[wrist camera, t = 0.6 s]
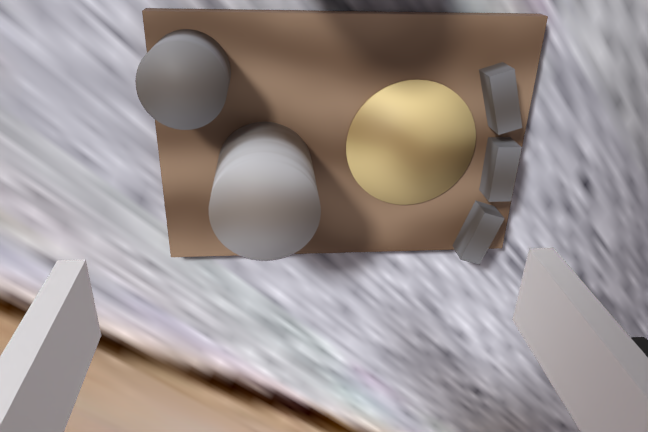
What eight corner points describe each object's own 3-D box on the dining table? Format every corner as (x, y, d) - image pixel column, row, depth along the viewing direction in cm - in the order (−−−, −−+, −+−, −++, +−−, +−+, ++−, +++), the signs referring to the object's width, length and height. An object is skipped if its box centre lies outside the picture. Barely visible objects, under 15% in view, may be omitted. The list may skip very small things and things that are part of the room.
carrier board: (146, 8, 34) (113, 30, 27) (539, 13, 36) (607, 35, 29) (173, 250, 42) (154, 318, 35) (496, 242, 44) (541, 304, 37)
